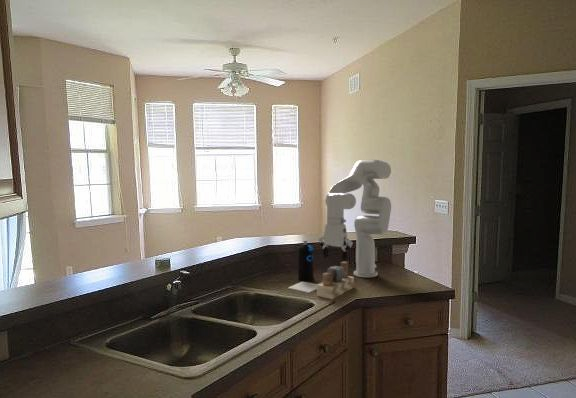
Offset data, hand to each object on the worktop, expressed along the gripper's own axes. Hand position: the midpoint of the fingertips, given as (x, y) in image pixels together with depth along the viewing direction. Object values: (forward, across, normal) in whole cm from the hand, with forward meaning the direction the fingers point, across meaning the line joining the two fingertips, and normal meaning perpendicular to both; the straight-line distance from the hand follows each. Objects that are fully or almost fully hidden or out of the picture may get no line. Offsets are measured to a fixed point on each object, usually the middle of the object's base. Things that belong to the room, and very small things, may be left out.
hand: (335, 258), depth 173 cm
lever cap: (+10, 0, -1) cm, 10 cm away
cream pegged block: (+16, 0, -1) cm, 16 cm away
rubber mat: (+16, +15, +2) cm, 22 cm away
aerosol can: (+16, +23, -10) cm, 29 cm away
